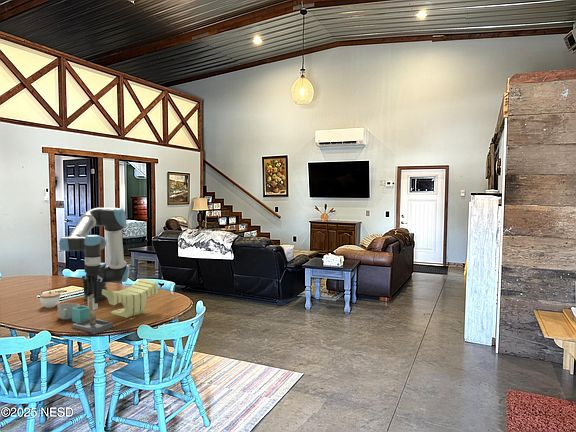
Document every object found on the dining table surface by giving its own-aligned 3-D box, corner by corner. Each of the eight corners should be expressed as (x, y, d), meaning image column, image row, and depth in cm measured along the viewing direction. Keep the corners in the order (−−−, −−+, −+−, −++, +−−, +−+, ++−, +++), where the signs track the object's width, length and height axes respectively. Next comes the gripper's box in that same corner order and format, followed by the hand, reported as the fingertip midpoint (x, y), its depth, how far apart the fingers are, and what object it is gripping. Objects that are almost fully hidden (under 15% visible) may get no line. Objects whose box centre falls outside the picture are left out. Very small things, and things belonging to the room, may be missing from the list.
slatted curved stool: (114, 323, 215) (114, 291, 214) (96, 318, 223) (96, 287, 222) (157, 310, 240) (158, 282, 239) (140, 306, 248) (140, 278, 247)
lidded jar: (64, 305, 247) (64, 290, 246) (48, 309, 237) (48, 294, 236) (51, 303, 250) (51, 288, 250) (35, 307, 240) (35, 292, 240)
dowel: (88, 325, 206) (88, 295, 205) (93, 323, 209) (93, 294, 208) (92, 326, 205) (92, 296, 204) (97, 324, 208) (97, 294, 207)
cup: (72, 322, 215) (71, 308, 214) (82, 319, 221) (82, 305, 220) (80, 324, 212) (80, 309, 212) (90, 321, 218) (90, 306, 218)
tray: (72, 329, 205) (72, 324, 205) (92, 322, 216) (92, 317, 216) (93, 334, 198) (93, 329, 198) (113, 327, 209) (113, 322, 209)
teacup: (63, 315, 226) (63, 302, 226) (82, 315, 227) (82, 302, 226) (50, 323, 212) (50, 309, 212) (71, 323, 213) (71, 309, 213)
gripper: (75, 264, 205) (76, 308, 206) (97, 267, 198) (97, 312, 200) (88, 262, 212) (88, 304, 213) (109, 265, 205) (109, 309, 207)
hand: (92, 308), depth 206 cm, fingers closed on dowel, 3 cm apart
